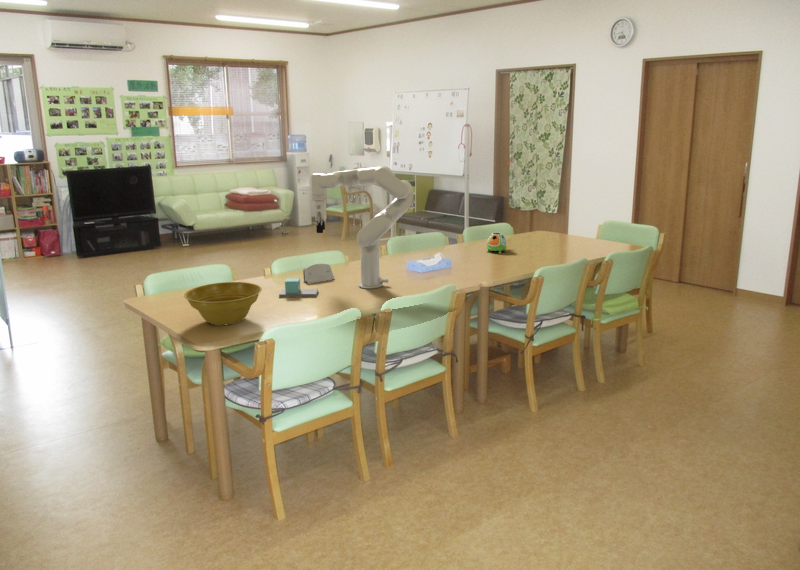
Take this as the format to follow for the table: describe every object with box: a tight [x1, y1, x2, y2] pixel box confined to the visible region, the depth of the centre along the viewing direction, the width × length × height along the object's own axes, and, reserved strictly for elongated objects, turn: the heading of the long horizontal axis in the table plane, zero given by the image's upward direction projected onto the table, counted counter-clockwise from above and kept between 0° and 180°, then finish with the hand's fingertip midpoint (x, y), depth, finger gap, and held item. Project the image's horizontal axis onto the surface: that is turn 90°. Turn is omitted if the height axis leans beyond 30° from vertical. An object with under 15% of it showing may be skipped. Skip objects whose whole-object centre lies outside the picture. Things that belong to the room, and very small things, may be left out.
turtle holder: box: [486, 232, 507, 254], centre depth 421 cm, size 12×18×12 cm
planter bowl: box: [183, 281, 263, 326], centre depth 282 cm, size 32×32×13 cm
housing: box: [284, 277, 301, 293], centre depth 323 cm, size 6×6×6 cm
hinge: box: [302, 263, 336, 285], centre depth 351 cm, size 17×5×10 cm, turn 123°
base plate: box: [278, 288, 319, 298], centre depth 324 cm, size 18×10×5 cm, turn 91°
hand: (320, 231), depth 336 cm, fingers open, 9 cm apart
